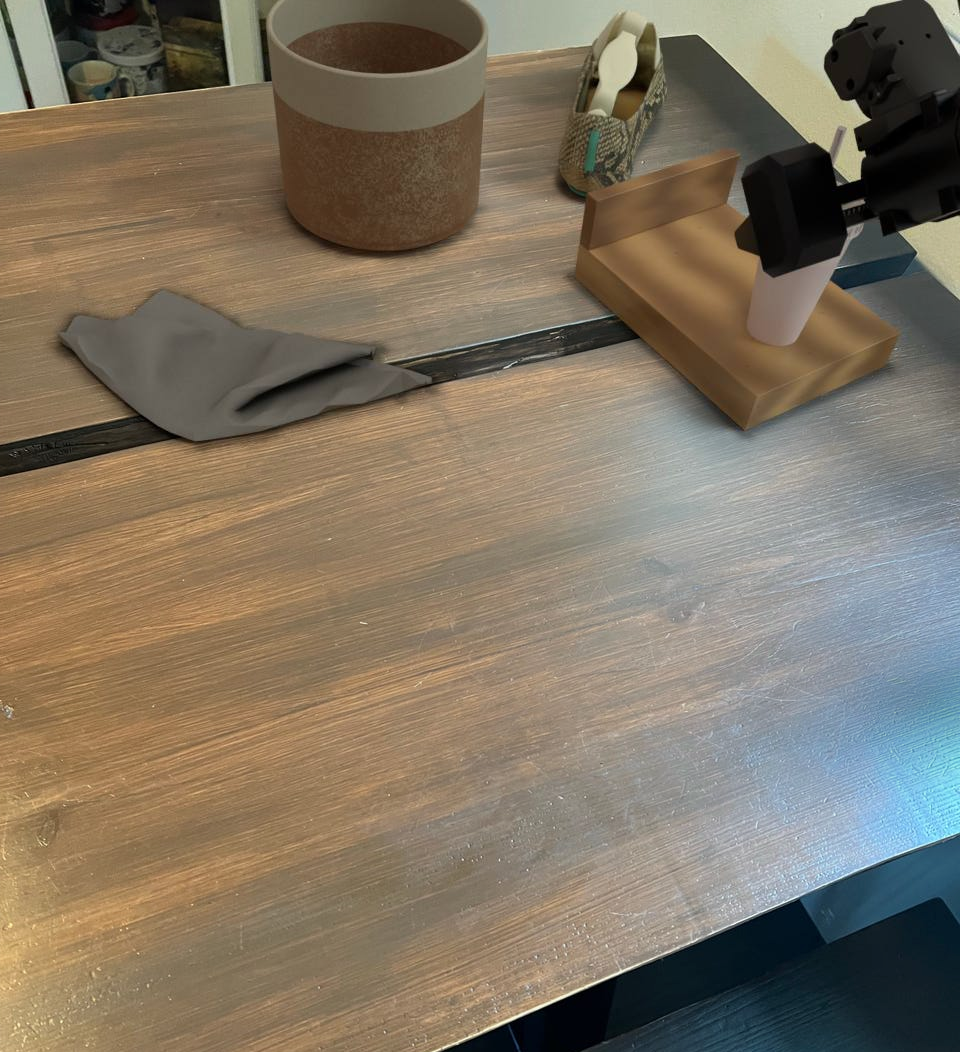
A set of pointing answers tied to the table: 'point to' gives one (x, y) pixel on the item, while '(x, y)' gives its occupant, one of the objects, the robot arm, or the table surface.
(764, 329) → the smoothie
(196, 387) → the cloth
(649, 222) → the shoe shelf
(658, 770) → the table surface
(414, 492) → the table surface
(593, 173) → the ballet flat
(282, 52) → the planter
